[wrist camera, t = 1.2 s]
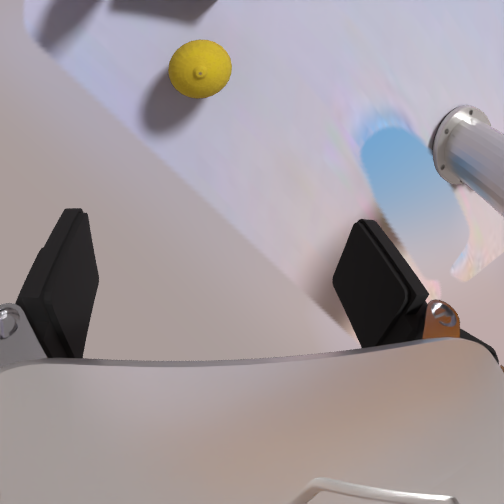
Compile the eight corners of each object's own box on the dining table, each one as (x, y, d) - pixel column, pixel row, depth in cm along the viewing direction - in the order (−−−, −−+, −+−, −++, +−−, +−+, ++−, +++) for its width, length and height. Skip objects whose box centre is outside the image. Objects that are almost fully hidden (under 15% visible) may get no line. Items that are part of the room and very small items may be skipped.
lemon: (163, 80, 27) (153, 94, 21) (185, 32, 25) (181, 29, 18) (213, 98, 29) (218, 116, 23) (236, 51, 27) (248, 55, 21)
